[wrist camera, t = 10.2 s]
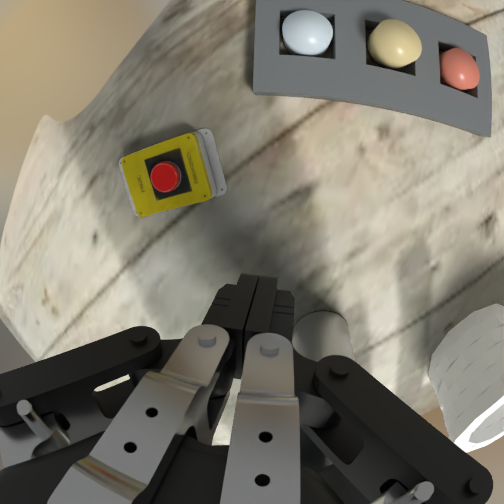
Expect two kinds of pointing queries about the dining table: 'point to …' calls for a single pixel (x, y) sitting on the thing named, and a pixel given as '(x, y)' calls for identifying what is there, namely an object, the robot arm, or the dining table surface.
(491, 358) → the basket
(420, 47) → the ochre button
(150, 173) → the emergency button
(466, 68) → the red button
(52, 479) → the robot arm
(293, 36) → the blue button
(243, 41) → the dining table surface
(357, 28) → the control panel
